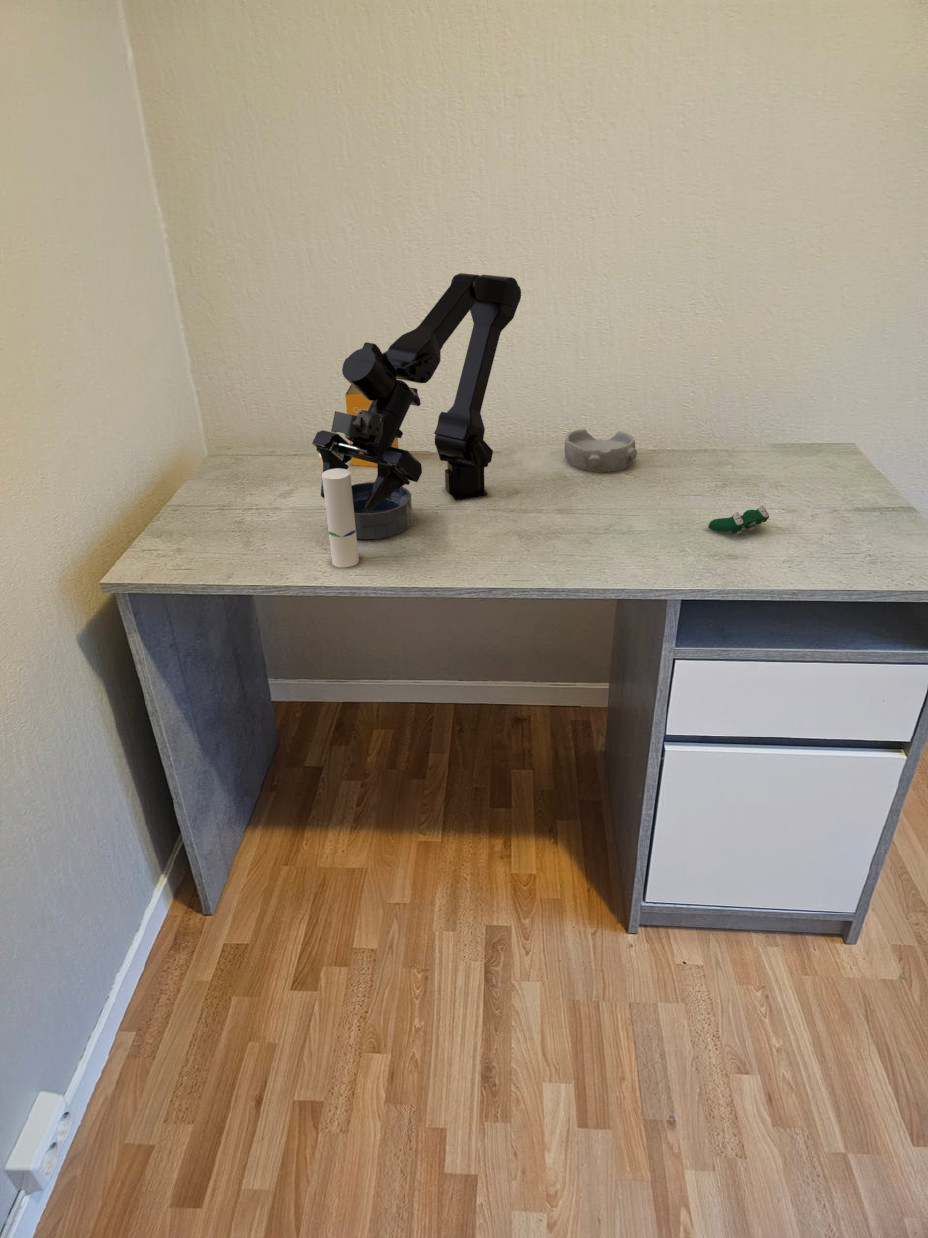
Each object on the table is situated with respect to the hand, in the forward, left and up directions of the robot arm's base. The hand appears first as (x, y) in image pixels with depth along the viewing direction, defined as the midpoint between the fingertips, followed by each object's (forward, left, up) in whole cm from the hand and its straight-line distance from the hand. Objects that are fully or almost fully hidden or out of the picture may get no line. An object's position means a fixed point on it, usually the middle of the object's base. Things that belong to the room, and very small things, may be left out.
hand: (344, 503), depth 130 cm
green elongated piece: (-64, +13, -10) cm, 66 cm away
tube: (+1, +1, -10) cm, 10 cm away
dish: (-56, -24, -10) cm, 62 cm away
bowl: (-6, -12, -10) cm, 16 cm away
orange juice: (-14, -43, -10) cm, 46 cm away
